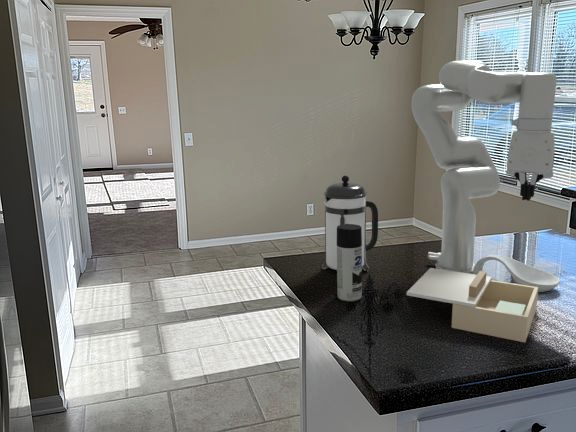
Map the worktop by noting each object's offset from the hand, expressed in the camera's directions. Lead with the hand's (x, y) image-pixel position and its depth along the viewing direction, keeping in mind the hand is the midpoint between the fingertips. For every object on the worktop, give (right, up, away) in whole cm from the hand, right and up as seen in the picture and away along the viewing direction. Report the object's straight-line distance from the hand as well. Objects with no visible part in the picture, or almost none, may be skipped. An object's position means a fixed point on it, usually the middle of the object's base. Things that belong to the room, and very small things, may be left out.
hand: (526, 199), depth 132 cm
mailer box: (-9, -29, -4) cm, 31 cm away
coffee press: (-41, -21, +34) cm, 57 cm away
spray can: (-43, -27, +11) cm, 52 cm away
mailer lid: (-19, -22, 0) cm, 29 cm away
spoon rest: (+5, -24, +19) cm, 31 cm away
